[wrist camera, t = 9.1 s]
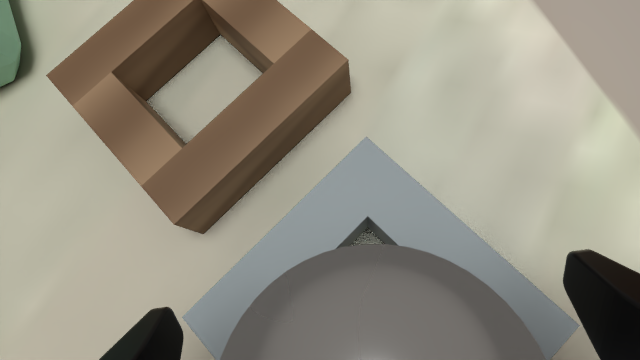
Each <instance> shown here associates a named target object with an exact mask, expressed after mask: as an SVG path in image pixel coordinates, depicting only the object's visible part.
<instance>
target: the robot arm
mask: <svg viewBox="0 0 640 360" xmlns="http://www.w3.org/2000/svg"><path fill="white" fill-rule="evenodd" d="M563 284H564V288H565V291H566V293H567V295H568V297H569V299H570V301H571V303H572V305H573V307H574V309H575V311H576V313H577V315H578V317H579V319H580V321H581V323H582V325H583V327H584V329H585V331H586V333H587V335H588V337H589V339H590V340H591V342H592V344H593V346H594V348H595V350H596V352H597V354H598V356H599V357H600V359H601V360H640V273H637V272H635V271H633V270H631V269H629V268H627V267H625V266H623V265H621V264H619V263H617V262H615V261H613V260H611V259H609V258H607V257H605V256H603V255H601V254H599V253H597V252H595V251H592V250H587V249H586V250H579V251H572V252H570V253H569V254H568V255H567V259H566V265H565V271H564V277H563ZM182 345H183V331H182V328H181V326H180V324H179V322H178V320H177V318H176V316H175V314H174V312H173V311H172V309H171V308H169V307H162V308H155V309H152V310H150V311H149V312H148V313H147V314H146V315H145V316H144V317H143V318H142V319H141V320H140V321H139V322H138V323H137V324H136V325H134V326H133V327H132V328H131V329H130V330H129V331H128V332H127V333H126V334H125V335H124V336H123V337H122V338H121V339H120V340H119V341H118V342H117V343H116V344H115V345H114V346H113V347H112V348H111V349H110V350H109V351H107V352H106V353H105V354H104V355H103V356H102V357H101V358H100V359H99V360H180V359H181V352H182Z"/></svg>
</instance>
